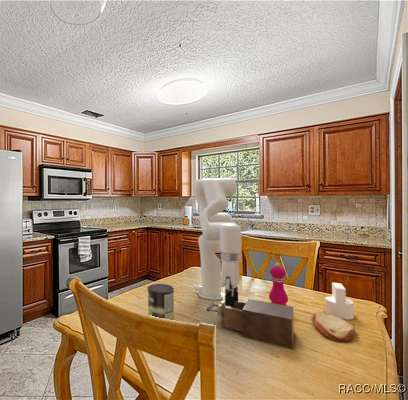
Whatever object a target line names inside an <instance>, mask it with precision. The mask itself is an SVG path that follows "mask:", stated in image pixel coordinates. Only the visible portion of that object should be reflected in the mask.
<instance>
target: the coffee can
mask: <svg viewBox="0 0 408 400" xmlns="http://www.w3.org/2000/svg"><path fill="white" fill-rule="evenodd" d="M174 291H175V288H174V287H173V286H171V285H169V284H164V283H154V284H150V285H148V286H147V303H148V304H147V306H148V311H147V312H148V316H149V315H152V316H155V317H159V318H165V319H170V320H174V321H175V303H174V302H175V301H174V299H175V298H174V297H175V296H174V294H175V293H174Z"/></svg>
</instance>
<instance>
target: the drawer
mask: <svg viewBox="0 0 408 400" xmlns="http://www.w3.org/2000/svg"><path fill="white" fill-rule="evenodd" d="M246 302H247V301H246ZM246 302H245V301H240V300H238V302H236V301H235V307H232V308H237V309H239V310H237V309H232V308H227V307H229V306H226V305H225V298H223V299H221V301H220V302H219V304H216V303H215V302H211V303H210V304H209V305H208V306H207V307H206V309H205V310H206V312H207V313H210V312H213V313H217V315H216V317H217V318H216V320H217V328H219V329H222V327H223V326H224V327H225V328H226V329H230V330H234V331H239V332H243V317H242V309H243V308H244V306H245V304H246ZM214 307H216V309H213V308H214Z"/></svg>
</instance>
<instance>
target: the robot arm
mask: <svg viewBox="0 0 408 400" xmlns="http://www.w3.org/2000/svg"><path fill="white" fill-rule="evenodd" d="M192 190H193V196H194V198H195V200H196V203H197V206H198V218H199V225H200V228H201V233H202V234H201V235H200V236H198V239H197V240H198V241H197V242H198V248H199V256H200V283H201V284H199V285H198V284H193V289H194V290H195V291H198V292H197V295H198V296H199V297H200V298H202V299H204V300H205V299H206V300H210V301H219V300H223V299H224V298H225V305H226V306H228V307H235V301H236V302H238V301H239V286H238V285H239V284H240V263H241V262H243V258H242V257H243V256H242V255H243V254H242V253H243V252H242V228H241V226H240V225H239V224H237V223H236V222H234V219H233V217H232V215H231V213H228V212H223V211H224V210H226V209H227V208H228V206H229V203H228V199H227V197H228V196H235V195H236V193H237V192H238V186H237V182H236V181H235V179H234V178H232V177H205V178H198V179H196V180H195V181H194V182H193V185H192ZM216 253H217V254H218V253H219V256H217V254H216ZM222 288H224V292H222Z"/></svg>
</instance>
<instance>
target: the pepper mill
mask: <svg viewBox="0 0 408 400" xmlns="http://www.w3.org/2000/svg"><path fill="white" fill-rule="evenodd" d="M274 265H275V266H271V267H270V269H269V274H270V275H271V277H270V278H271V281H272V287H271V289H270V292H269V294H268V298H269V300H270V303H275V304H281V305H286V306H288V305H287V303H288V302H289V297H288V294H287V291H286V289H285V287H284V286H285V285H284V282H285V277H286V275H287V272H286V270H285V268H284V267H282V266H281V264H280V263H279V262H276V263H275V264H274Z"/></svg>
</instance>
